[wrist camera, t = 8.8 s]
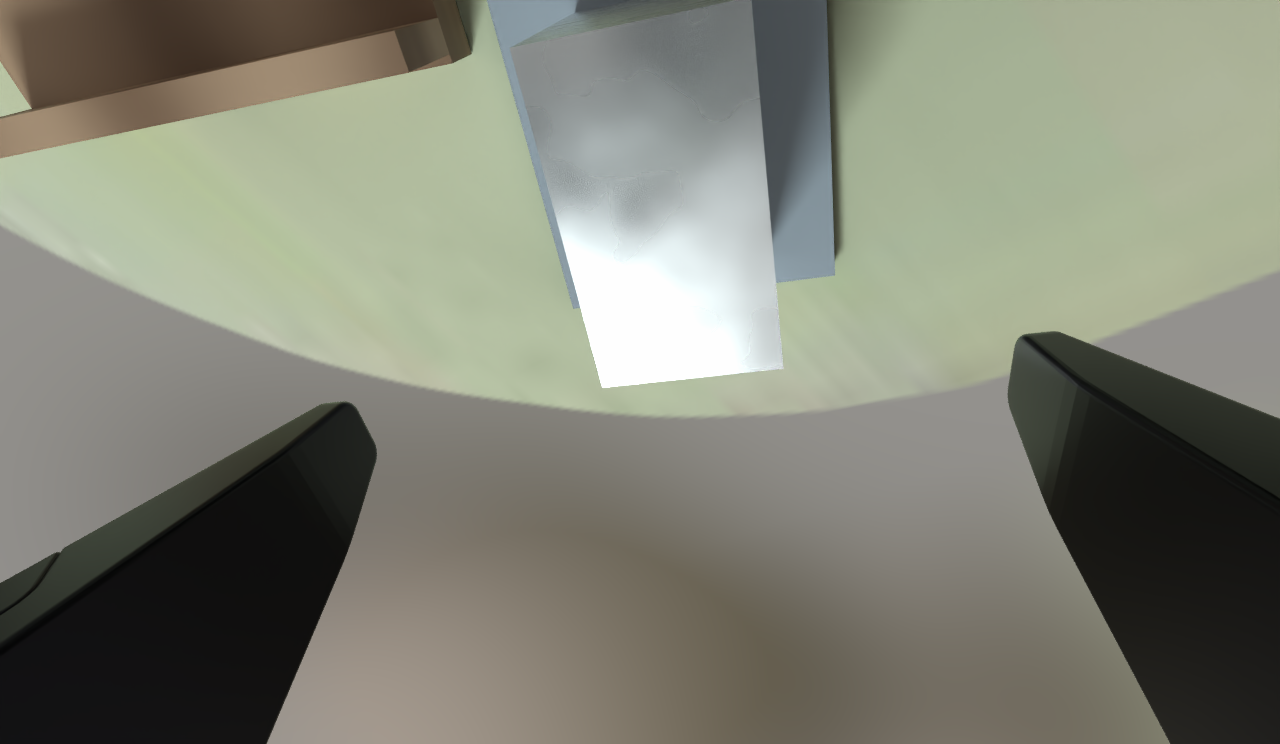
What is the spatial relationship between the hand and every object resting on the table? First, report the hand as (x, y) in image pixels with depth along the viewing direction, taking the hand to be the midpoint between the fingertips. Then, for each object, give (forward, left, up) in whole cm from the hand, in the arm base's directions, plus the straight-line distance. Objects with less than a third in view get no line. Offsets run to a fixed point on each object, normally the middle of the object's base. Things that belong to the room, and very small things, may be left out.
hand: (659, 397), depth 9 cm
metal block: (0, -1, -11) cm, 11 cm away
